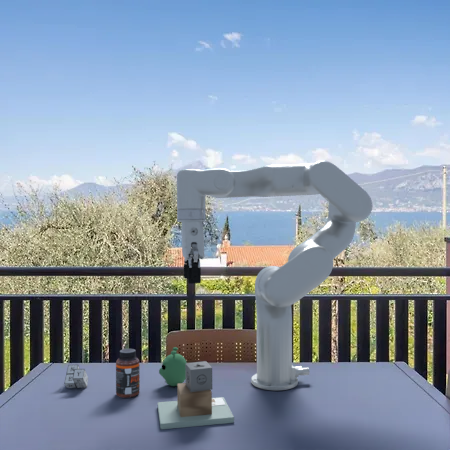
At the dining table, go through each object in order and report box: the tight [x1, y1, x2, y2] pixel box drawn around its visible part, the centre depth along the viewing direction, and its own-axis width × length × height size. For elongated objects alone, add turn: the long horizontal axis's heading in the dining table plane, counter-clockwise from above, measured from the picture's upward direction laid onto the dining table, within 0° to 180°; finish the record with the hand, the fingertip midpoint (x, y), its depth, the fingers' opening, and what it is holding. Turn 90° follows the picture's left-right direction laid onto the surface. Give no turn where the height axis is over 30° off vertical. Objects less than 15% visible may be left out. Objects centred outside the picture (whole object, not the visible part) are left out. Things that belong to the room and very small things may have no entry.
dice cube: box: [185, 360, 213, 392], centre depth 109 cm, size 5×5×5 cm
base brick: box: [176, 382, 213, 417], centre depth 109 cm, size 7×7×5 cm
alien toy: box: [158, 346, 188, 387], centre depth 128 cm, size 7×8×10 cm
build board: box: [157, 396, 235, 430], centre depth 109 cm, size 16×12×1 cm
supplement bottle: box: [115, 348, 141, 399], centre depth 121 cm, size 6×6×11 cm
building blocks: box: [64, 364, 89, 389], centre depth 128 cm, size 5×5×8 cm
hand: (192, 280), depth 126 cm, fingers open, 9 cm apart
